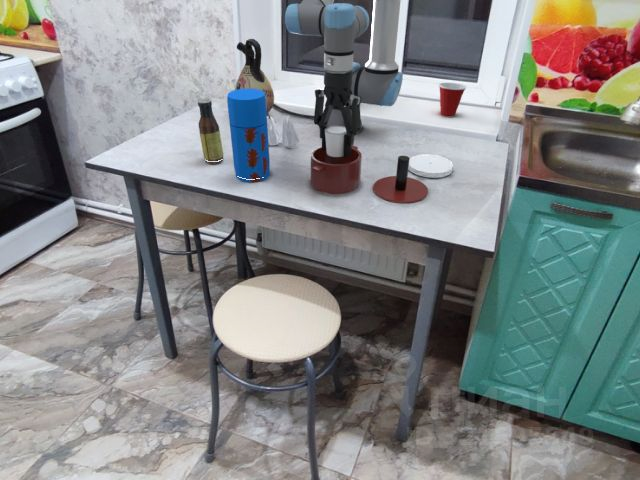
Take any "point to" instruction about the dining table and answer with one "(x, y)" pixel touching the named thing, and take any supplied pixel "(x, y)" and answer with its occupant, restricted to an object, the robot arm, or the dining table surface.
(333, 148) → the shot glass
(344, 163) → the pot
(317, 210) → the dining table surface
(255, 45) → the ceramic jug
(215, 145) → the sauce bottle
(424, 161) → the plastic lid
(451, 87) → the plastic cup
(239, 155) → the thermos
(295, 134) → the shaker set
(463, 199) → the dining table surface
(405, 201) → the lid
